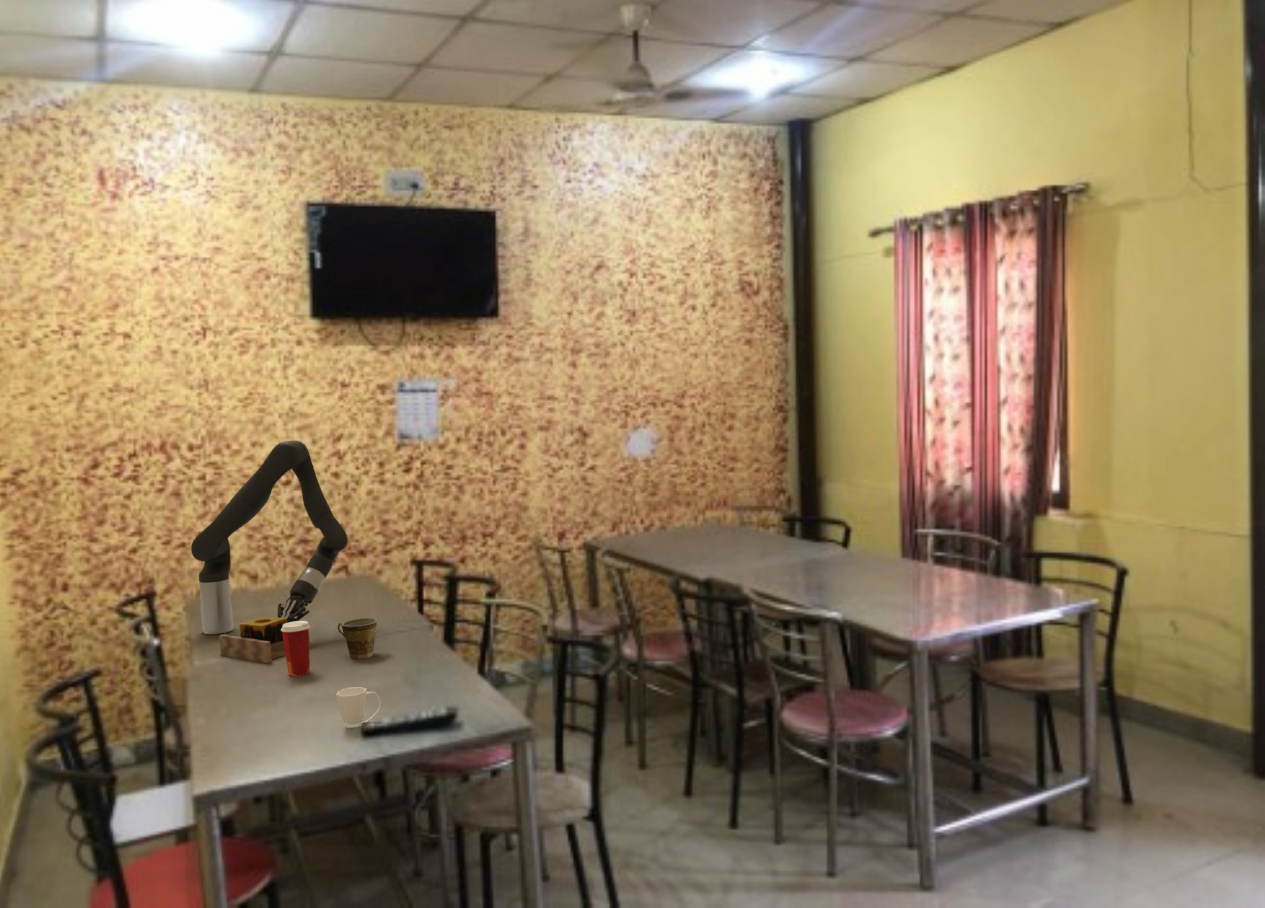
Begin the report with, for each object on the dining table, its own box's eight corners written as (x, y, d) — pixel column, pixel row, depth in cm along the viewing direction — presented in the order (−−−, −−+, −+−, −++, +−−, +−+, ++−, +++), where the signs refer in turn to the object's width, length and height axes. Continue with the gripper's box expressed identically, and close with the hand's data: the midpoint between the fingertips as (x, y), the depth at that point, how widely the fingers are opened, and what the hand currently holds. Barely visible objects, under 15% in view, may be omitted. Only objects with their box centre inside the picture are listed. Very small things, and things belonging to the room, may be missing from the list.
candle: (265, 659, 304) (262, 626, 303) (240, 656, 308) (237, 623, 308) (290, 650, 313) (288, 617, 312) (266, 648, 317) (263, 616, 317)
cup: (335, 724, 241) (332, 690, 241) (378, 715, 246) (375, 682, 245) (342, 732, 235) (339, 697, 234) (385, 723, 240) (383, 689, 239)
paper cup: (319, 670, 289) (315, 620, 288) (302, 678, 282) (298, 627, 281) (295, 668, 291) (291, 619, 290) (278, 676, 284) (274, 626, 283)
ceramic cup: (386, 652, 304) (383, 618, 304) (364, 661, 295) (361, 627, 294) (351, 649, 310) (348, 616, 309) (328, 658, 301) (325, 624, 300)
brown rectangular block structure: (220, 655, 311) (219, 635, 311) (245, 648, 318) (243, 629, 318) (267, 663, 299) (265, 642, 299) (291, 655, 306) (289, 635, 306)
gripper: (286, 577, 326) (256, 624, 317) (314, 579, 318) (284, 628, 309) (301, 590, 331) (272, 637, 321) (329, 593, 323) (300, 641, 314)
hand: (278, 633), depth 315 cm, fingers closed
